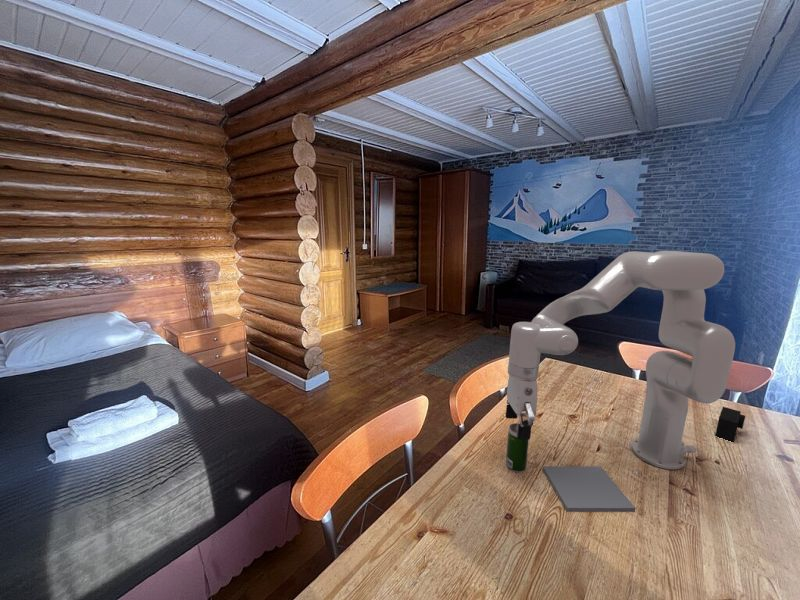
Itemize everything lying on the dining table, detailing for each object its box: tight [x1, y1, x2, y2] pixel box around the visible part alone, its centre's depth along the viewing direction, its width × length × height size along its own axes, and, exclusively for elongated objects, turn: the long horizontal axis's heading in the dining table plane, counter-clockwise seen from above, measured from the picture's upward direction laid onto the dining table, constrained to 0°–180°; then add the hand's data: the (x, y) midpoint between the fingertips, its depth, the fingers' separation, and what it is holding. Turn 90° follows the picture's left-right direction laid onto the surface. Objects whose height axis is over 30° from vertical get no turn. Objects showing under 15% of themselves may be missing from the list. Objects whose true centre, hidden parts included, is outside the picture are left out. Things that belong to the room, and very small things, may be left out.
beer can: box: [505, 422, 530, 474], centre depth 91 cm, size 5×5×12 cm
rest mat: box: [542, 465, 636, 513], centre depth 85 cm, size 16×14×1 cm
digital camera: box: [714, 406, 746, 443], centre depth 106 cm, size 10×5×7 cm, turn 131°
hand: (517, 427), depth 90 cm, fingers open, 9 cm apart
